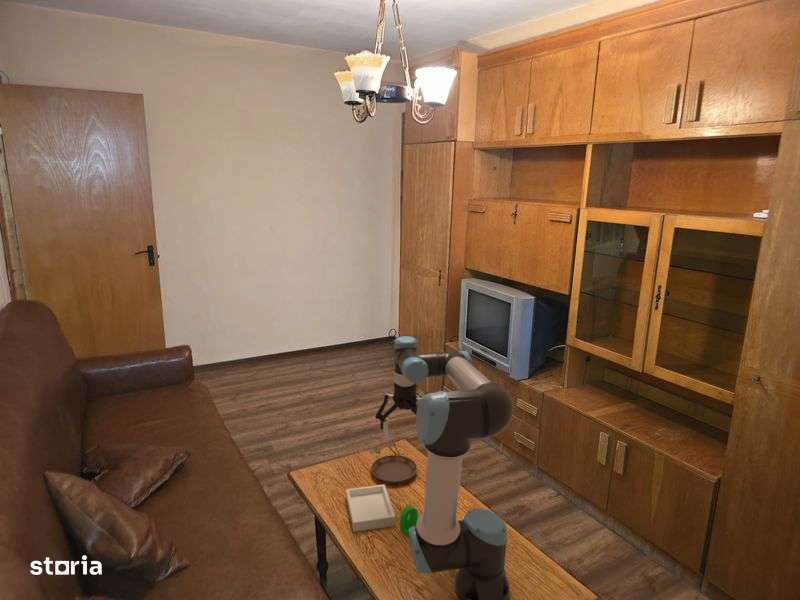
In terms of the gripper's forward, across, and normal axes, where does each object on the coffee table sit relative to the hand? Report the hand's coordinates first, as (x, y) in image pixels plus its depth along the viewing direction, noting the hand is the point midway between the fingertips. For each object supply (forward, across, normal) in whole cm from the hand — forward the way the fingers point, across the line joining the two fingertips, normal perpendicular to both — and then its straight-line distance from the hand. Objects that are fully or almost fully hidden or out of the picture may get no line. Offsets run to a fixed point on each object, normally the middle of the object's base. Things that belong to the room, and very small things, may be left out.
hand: (404, 440), depth 177 cm
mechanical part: (+25, -9, +11) cm, 29 cm away
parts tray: (+24, +10, +8) cm, 27 cm away
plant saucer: (+24, +8, -16) cm, 30 cm away
